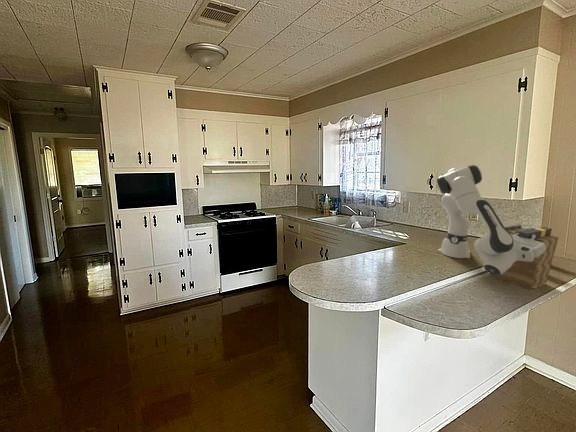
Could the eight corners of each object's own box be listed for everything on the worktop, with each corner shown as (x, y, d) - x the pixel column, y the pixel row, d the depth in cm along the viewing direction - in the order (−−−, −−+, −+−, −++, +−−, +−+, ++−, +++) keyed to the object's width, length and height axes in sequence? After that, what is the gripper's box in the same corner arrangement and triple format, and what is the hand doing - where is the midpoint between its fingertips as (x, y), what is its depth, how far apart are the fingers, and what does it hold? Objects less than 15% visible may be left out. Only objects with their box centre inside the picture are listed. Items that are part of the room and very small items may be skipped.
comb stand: (530, 289, 162) (543, 238, 155) (489, 274, 179) (500, 226, 172) (545, 284, 169) (559, 234, 162) (505, 269, 186) (516, 223, 179)
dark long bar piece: (542, 233, 168) (544, 226, 167) (550, 235, 165) (552, 228, 164) (517, 238, 157) (519, 231, 156) (525, 240, 154) (527, 233, 153)
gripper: (490, 248, 163) (506, 232, 167) (535, 263, 146) (552, 245, 150) (488, 238, 160) (505, 223, 164) (535, 252, 143) (552, 235, 147)
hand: (528, 234), depth 157 cm, fingers closed on dark long bar piece, 3 cm apart
